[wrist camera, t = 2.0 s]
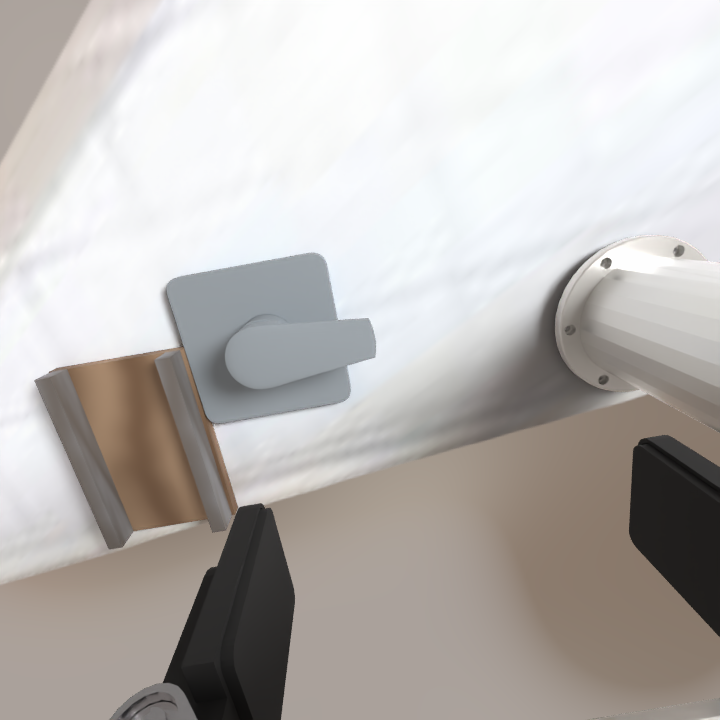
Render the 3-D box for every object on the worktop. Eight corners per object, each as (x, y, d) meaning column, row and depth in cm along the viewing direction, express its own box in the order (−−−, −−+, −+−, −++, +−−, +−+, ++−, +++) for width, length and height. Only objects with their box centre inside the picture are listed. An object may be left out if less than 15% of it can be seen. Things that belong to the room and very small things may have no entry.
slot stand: (188, 345, 33) (173, 356, 31) (237, 507, 38) (229, 529, 36) (57, 368, 34) (30, 380, 31) (123, 526, 39) (105, 549, 36)
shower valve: (388, 418, 30) (189, 453, 30) (382, 390, 35) (212, 420, 36) (360, 247, 26) (132, 288, 27) (357, 244, 32) (167, 278, 32)
